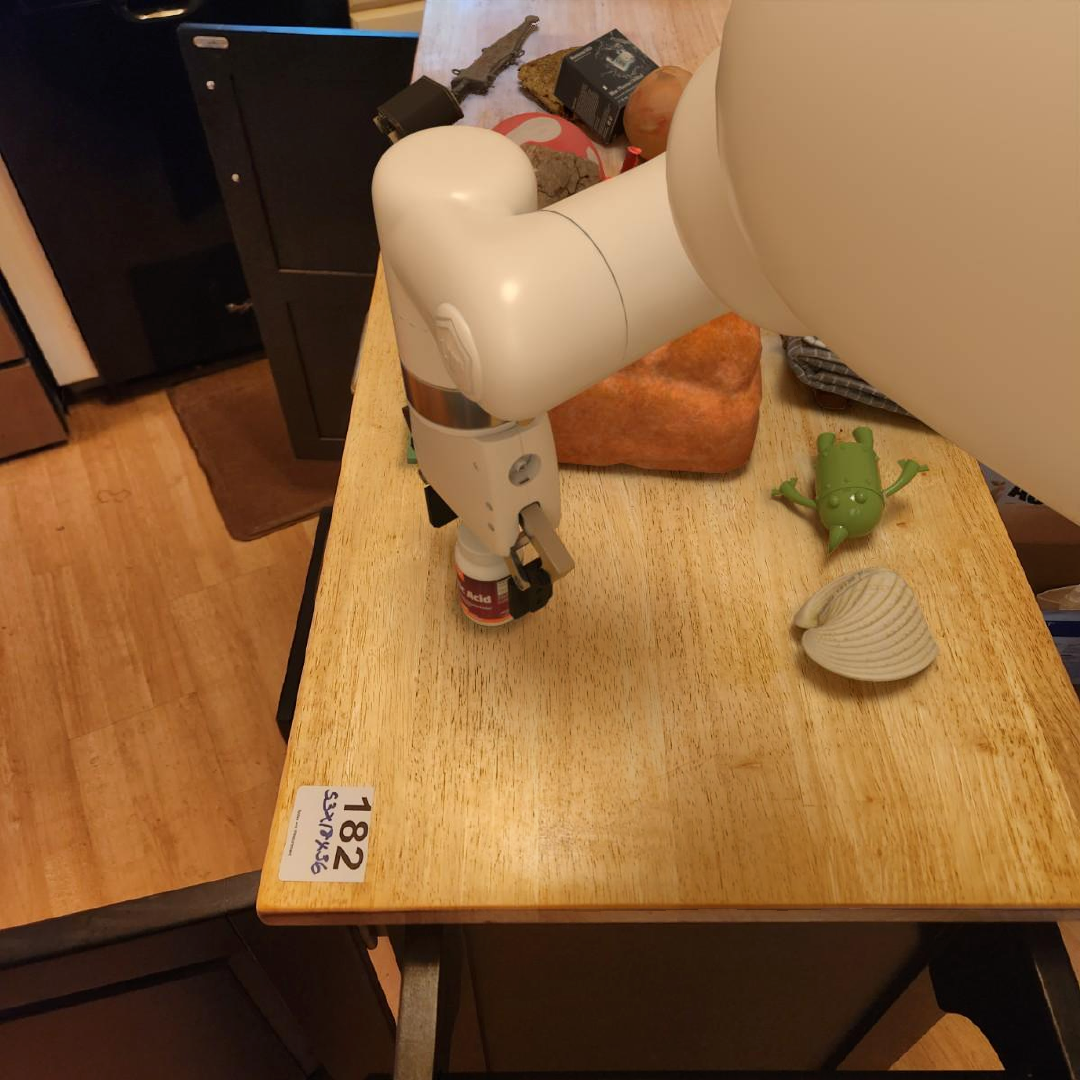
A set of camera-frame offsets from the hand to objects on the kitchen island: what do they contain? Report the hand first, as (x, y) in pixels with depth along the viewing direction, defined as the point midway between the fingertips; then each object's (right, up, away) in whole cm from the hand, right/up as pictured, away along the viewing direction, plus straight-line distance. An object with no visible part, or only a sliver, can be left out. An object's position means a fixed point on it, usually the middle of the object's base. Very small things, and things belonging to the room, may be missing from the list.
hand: (489, 560), depth 62 cm
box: (+15, +51, +43) cm, 69 cm away
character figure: (+27, +3, +9) cm, 29 cm away
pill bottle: (0, -3, +4) cm, 5 cm away
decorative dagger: (+3, +75, +63) cm, 98 cm away
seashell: (+25, -7, +1) cm, 26 cm away
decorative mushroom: (+3, +29, +29) cm, 42 cm away
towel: (+35, +22, +13) cm, 44 cm away
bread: (+8, +12, +16) cm, 22 cm away
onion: (+18, +45, +42) cm, 64 cm away
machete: (+31, +23, +25) cm, 45 cm away
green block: (-6, +12, +16) cm, 20 cm away
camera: (-7, +50, +39) cm, 64 cm away
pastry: (+9, +59, +53) cm, 80 cm away
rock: (+1, +29, +15) cm, 33 cm away
